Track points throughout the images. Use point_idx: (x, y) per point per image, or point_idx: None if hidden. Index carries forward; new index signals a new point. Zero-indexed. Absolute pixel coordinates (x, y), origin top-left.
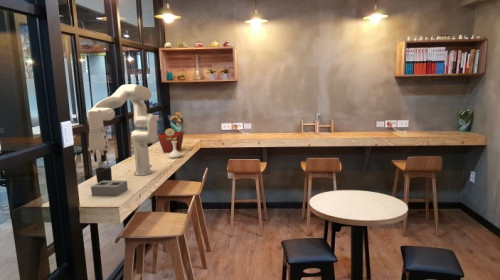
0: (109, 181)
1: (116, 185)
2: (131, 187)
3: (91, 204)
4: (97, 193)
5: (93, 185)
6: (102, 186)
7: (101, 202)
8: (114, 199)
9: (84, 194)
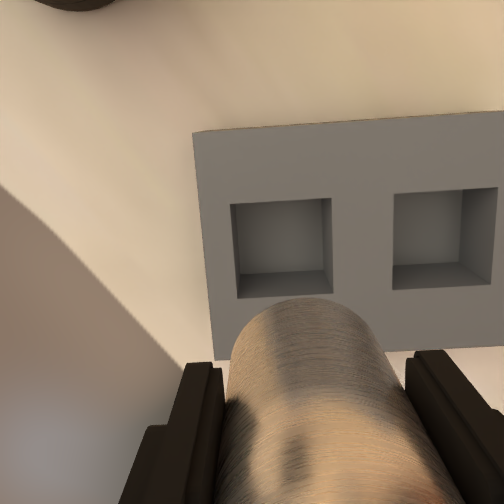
0: (312, 163)
1: (489, 295)
2: (492, 36)
3: None
4: None
5: (214, 321)
6: None
7: None
8: (482, 373)
9: (125, 295)
